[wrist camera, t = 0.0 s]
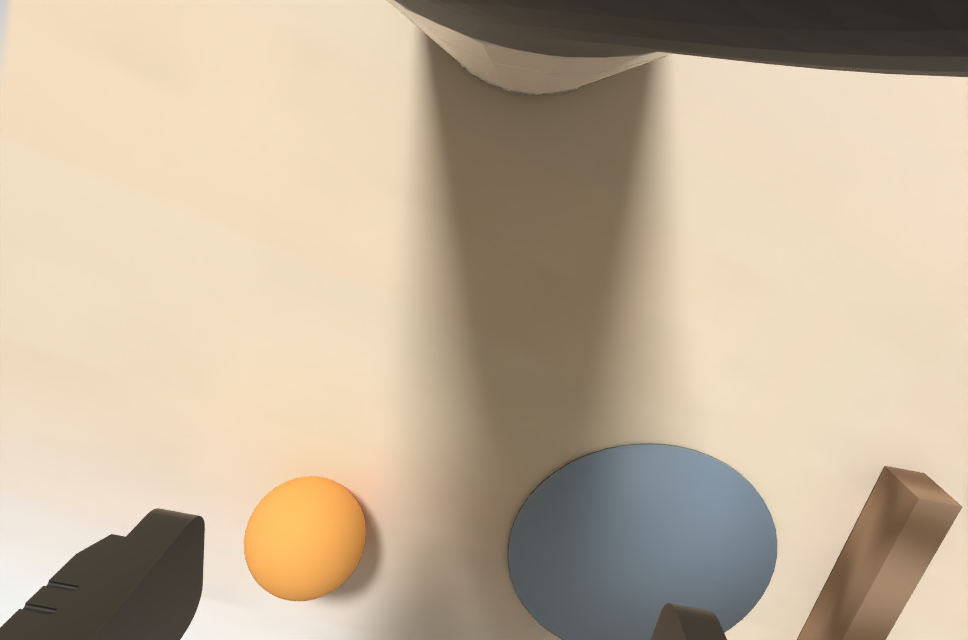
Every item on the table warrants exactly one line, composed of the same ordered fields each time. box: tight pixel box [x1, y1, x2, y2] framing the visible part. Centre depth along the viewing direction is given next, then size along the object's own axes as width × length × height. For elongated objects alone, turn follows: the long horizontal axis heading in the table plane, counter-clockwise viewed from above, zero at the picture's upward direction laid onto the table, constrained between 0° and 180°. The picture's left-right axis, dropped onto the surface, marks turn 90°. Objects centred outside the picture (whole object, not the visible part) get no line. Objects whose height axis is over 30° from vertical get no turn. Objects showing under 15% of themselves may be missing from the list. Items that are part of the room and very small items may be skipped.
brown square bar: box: [797, 466, 962, 640], centre depth 30 cm, size 16×2×2 cm, turn 170°
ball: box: [244, 477, 366, 601], centre depth 28 cm, size 6×6×6 cm
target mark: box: [508, 444, 777, 640], centre depth 30 cm, size 14×14×1 cm
